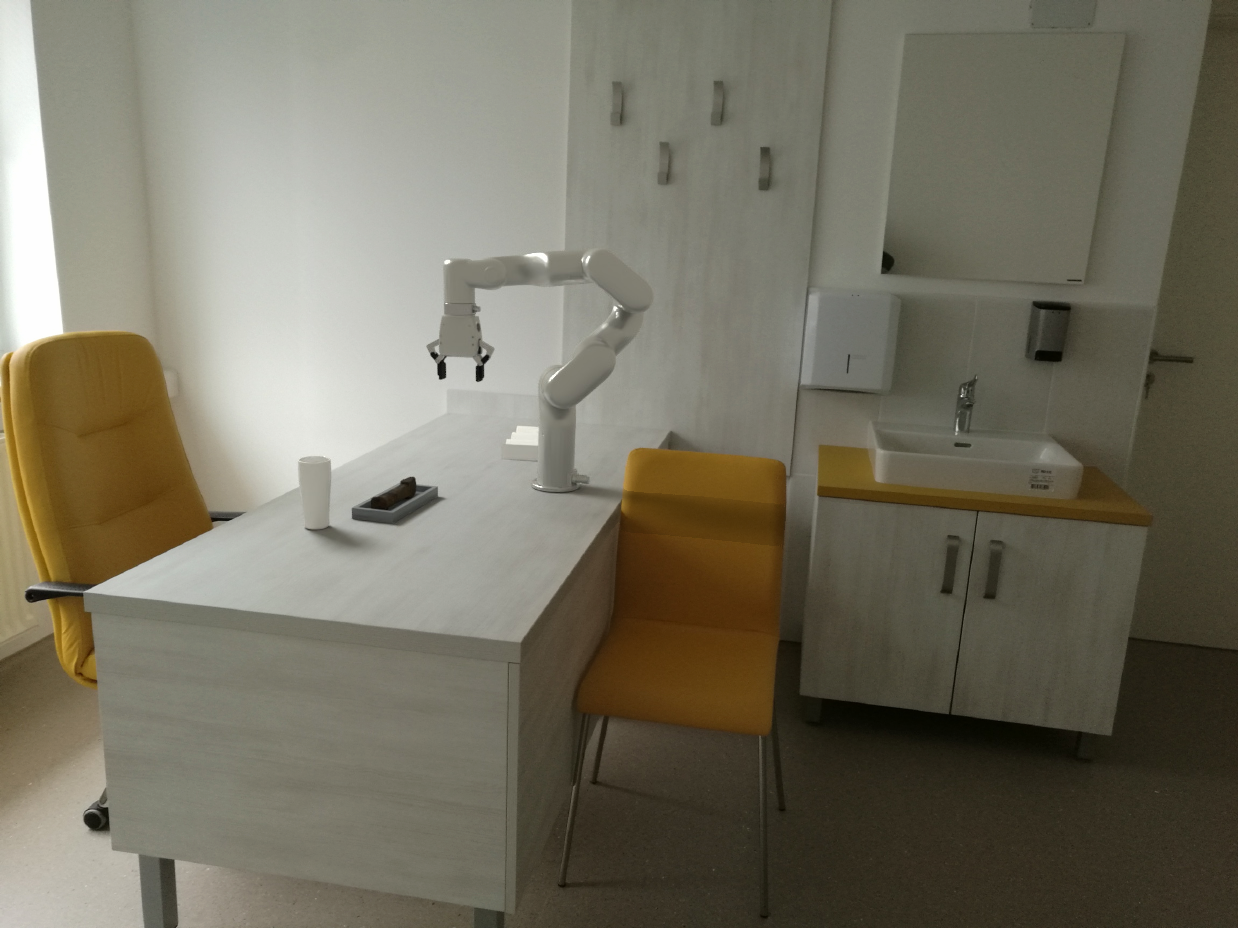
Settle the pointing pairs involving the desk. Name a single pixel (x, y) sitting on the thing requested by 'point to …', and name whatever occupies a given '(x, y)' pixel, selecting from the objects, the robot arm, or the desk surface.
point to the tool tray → (395, 505)
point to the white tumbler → (315, 490)
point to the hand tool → (395, 494)
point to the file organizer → (521, 444)
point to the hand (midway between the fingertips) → (460, 380)
